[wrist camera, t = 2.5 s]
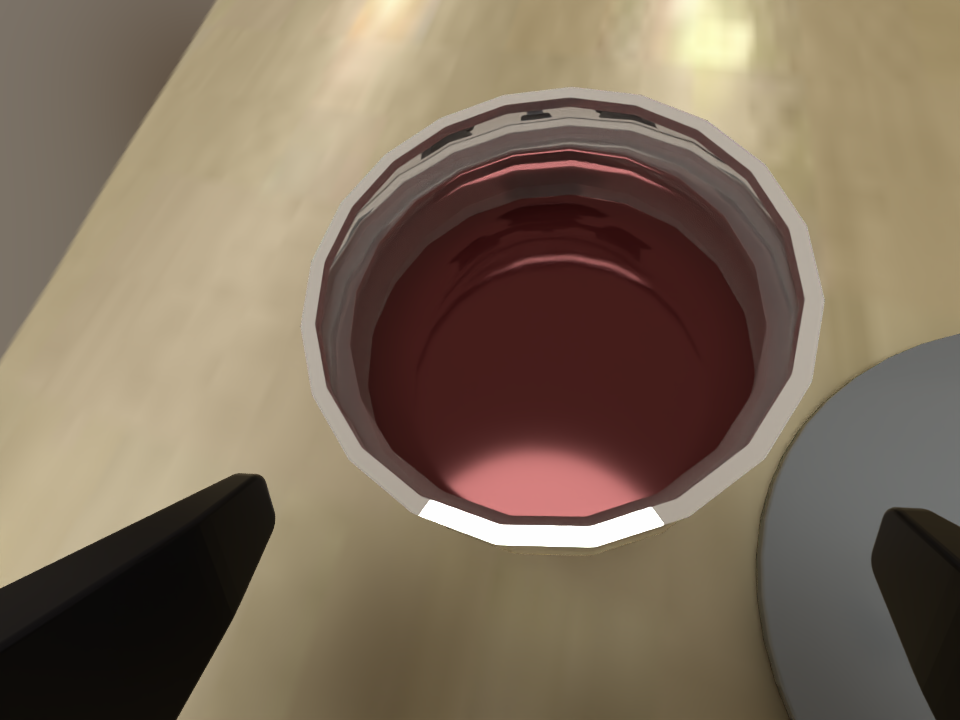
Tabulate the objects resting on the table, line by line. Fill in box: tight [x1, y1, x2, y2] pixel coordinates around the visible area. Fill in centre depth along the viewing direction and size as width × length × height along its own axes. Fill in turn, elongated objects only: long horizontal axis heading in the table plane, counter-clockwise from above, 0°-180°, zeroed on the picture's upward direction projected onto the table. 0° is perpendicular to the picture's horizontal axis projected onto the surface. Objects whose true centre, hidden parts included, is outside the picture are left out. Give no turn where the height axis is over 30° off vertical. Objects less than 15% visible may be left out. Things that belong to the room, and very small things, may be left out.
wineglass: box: [301, 87, 825, 556], centre depth 12 cm, size 7×7×12 cm
